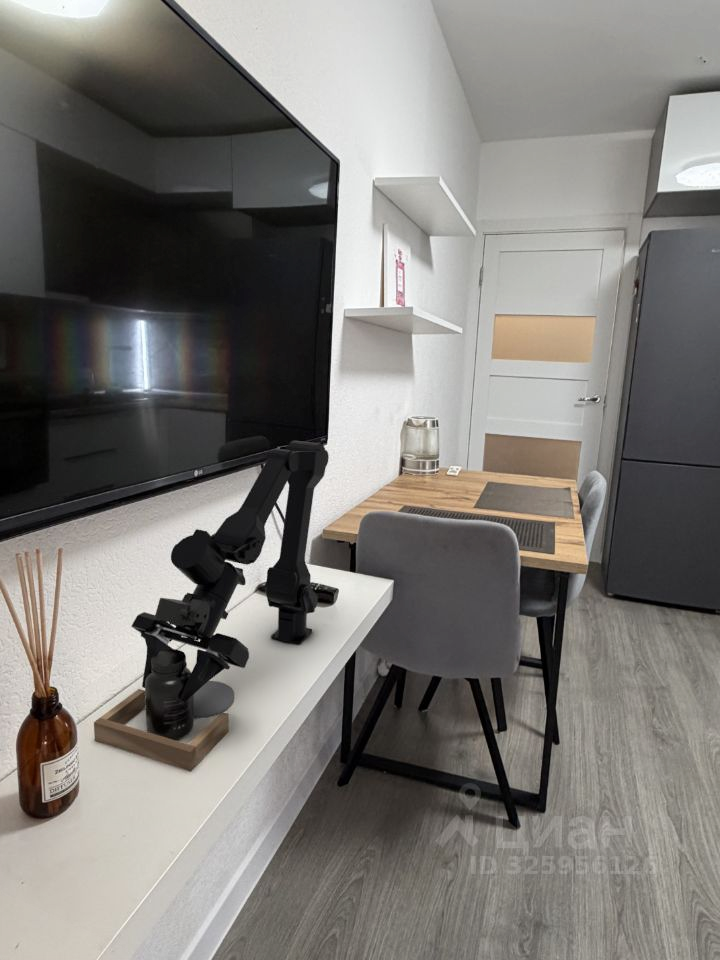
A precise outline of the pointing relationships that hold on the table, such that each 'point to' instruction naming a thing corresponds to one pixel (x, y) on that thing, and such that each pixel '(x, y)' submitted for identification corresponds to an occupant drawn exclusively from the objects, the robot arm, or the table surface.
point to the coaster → (212, 699)
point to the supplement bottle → (168, 696)
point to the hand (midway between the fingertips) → (163, 694)
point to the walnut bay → (152, 745)
